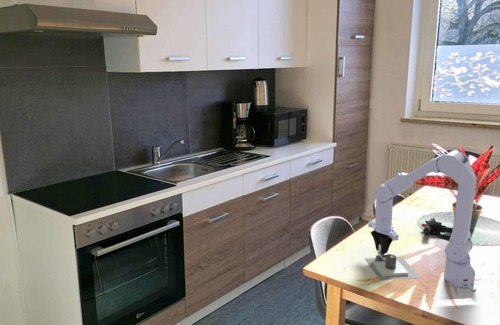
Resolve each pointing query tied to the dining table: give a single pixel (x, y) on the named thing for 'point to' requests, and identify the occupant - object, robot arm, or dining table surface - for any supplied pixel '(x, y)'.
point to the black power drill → (435, 227)
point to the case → (408, 268)
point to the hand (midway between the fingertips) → (381, 251)
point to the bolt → (381, 253)
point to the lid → (390, 267)
